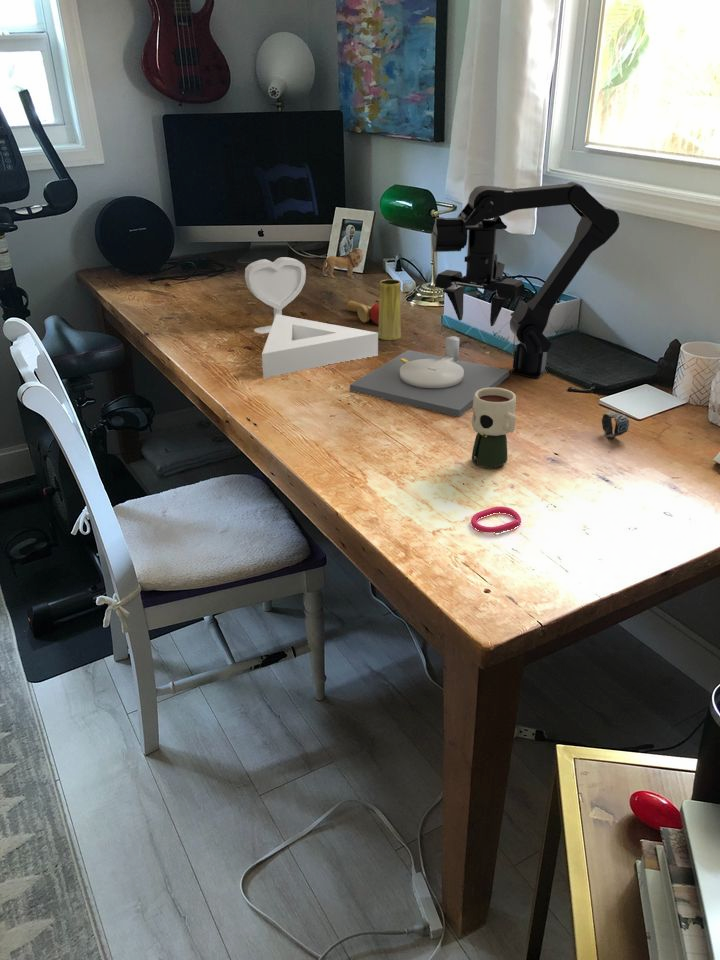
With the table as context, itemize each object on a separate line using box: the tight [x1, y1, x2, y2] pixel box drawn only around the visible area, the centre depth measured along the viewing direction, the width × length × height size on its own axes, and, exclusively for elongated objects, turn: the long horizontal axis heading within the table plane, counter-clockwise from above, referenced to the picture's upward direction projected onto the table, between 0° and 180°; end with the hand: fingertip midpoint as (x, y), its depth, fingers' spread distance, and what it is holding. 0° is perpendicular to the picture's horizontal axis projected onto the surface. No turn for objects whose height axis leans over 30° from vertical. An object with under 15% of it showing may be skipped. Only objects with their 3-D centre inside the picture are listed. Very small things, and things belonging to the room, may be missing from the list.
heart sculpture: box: [244, 256, 307, 335], centre depth 199 cm, size 16×5×18 cm, turn 116°
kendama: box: [346, 299, 379, 325], centre depth 210 cm, size 8×6×18 cm
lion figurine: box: [319, 247, 364, 279], centre depth 248 cm, size 15×5×9 cm, turn 103°
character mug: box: [470, 387, 517, 469], centre depth 132 cm, size 11×7×13 cm, turn 30°
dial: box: [400, 335, 464, 388], centre depth 168 cm, size 18×14×6 cm
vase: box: [377, 278, 402, 341], centre depth 193 cm, size 6×6×14 cm
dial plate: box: [349, 349, 510, 418], centre depth 168 cm, size 26×26×2 cm
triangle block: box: [261, 314, 379, 379], centre depth 180 cm, size 30×26×6 cm
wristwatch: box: [601, 411, 630, 438], centre depth 143 cm, size 3×5×5 cm, turn 16°
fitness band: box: [470, 506, 522, 534], centre depth 118 cm, size 8×6×2 cm
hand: (476, 322), depth 167 cm, fingers open, 7 cm apart
